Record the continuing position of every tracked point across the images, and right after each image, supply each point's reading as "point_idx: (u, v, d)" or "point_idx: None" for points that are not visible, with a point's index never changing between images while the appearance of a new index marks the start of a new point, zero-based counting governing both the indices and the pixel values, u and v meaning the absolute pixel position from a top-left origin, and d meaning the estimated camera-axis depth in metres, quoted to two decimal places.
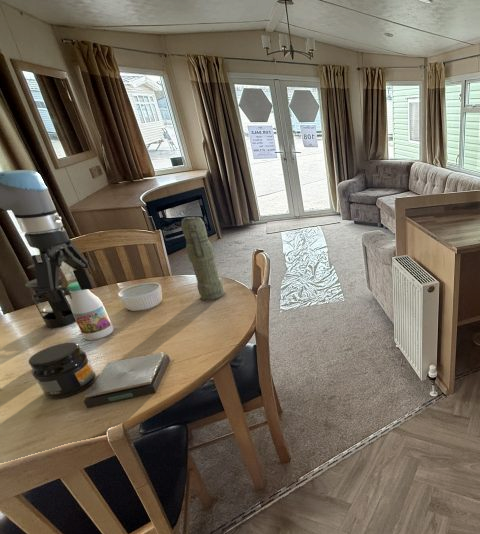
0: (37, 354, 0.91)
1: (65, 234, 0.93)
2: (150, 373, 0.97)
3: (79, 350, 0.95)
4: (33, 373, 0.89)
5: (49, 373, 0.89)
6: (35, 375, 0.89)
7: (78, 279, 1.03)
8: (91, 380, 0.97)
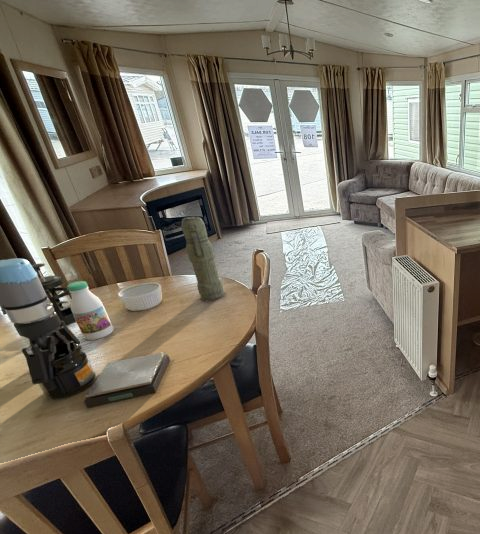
0: None
1: (56, 319, 0.89)
2: (150, 373, 0.97)
3: (79, 350, 0.95)
4: None
5: None
6: None
7: None
8: (91, 380, 0.97)
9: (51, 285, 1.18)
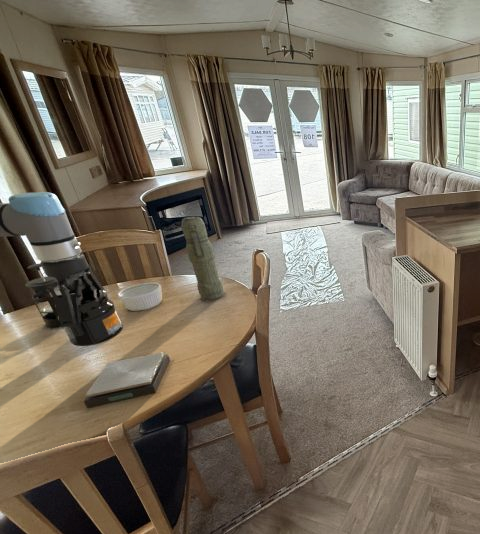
0: None
1: (84, 261, 0.84)
2: (150, 373, 0.97)
3: (107, 297, 0.90)
4: None
5: None
6: None
7: None
8: (119, 330, 0.92)
9: (51, 285, 1.18)
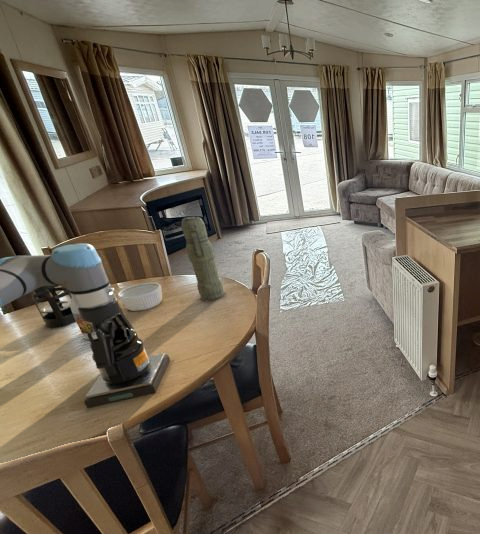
0: None
1: (117, 304, 0.90)
2: (151, 374, 0.97)
3: (136, 336, 0.95)
4: None
5: None
6: None
7: None
8: (147, 366, 0.98)
9: (51, 285, 1.18)
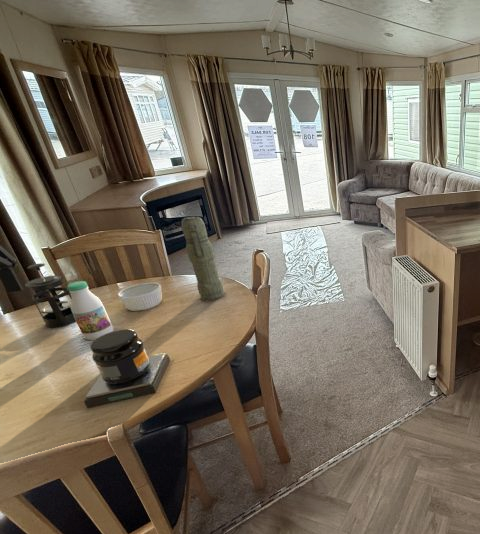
0: (97, 340, 0.92)
1: None
2: (151, 374, 0.97)
3: (136, 336, 0.96)
4: (94, 358, 0.90)
5: (110, 359, 0.90)
6: (97, 360, 0.90)
7: (3, 280, 0.91)
8: (147, 367, 0.98)
9: (51, 285, 1.18)
